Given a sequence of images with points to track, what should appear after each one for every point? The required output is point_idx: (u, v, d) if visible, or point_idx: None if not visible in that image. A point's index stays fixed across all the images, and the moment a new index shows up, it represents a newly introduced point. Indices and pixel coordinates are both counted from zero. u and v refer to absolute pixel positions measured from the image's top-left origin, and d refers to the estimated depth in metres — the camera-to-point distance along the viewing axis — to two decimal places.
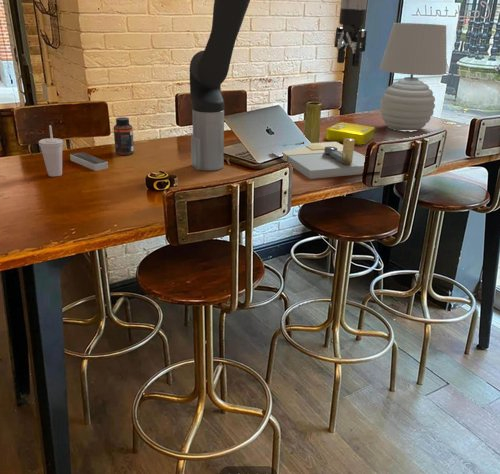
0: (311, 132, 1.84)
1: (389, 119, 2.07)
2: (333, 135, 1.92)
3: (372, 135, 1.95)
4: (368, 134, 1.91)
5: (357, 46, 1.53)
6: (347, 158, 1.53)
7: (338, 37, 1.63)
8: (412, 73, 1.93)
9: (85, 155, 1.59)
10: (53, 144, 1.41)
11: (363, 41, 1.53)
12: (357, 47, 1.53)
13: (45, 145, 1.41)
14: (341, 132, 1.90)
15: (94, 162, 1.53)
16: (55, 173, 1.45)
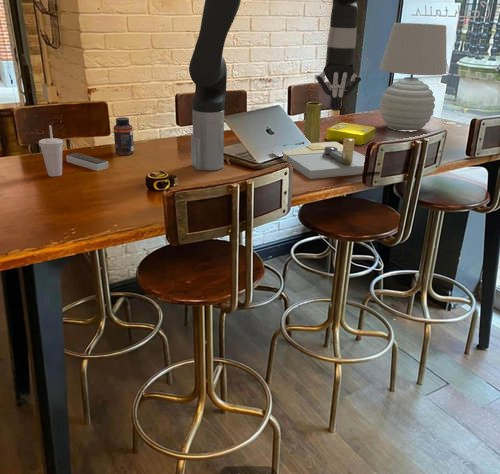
0: (311, 132, 1.84)
1: (389, 119, 2.07)
2: (334, 135, 1.92)
3: (372, 135, 1.95)
4: (368, 134, 1.91)
5: (349, 90, 1.45)
6: (347, 158, 1.53)
7: None
8: (412, 73, 1.93)
9: (82, 156, 1.58)
10: (53, 144, 1.41)
11: None
12: (347, 90, 1.45)
13: (45, 145, 1.41)
14: (341, 132, 1.90)
15: (95, 162, 1.53)
16: (55, 173, 1.45)
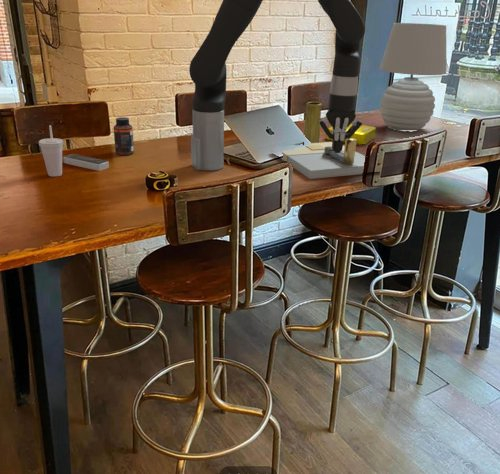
0: (312, 132, 1.84)
1: (389, 119, 2.07)
2: None
3: (373, 135, 1.95)
4: (369, 134, 1.91)
5: (350, 134, 1.50)
6: (349, 158, 1.54)
7: (327, 128, 1.49)
8: (412, 73, 1.93)
9: (80, 156, 1.57)
10: (53, 144, 1.41)
11: None
12: (348, 134, 1.50)
13: (45, 145, 1.41)
14: None
15: (95, 162, 1.53)
16: (55, 173, 1.45)
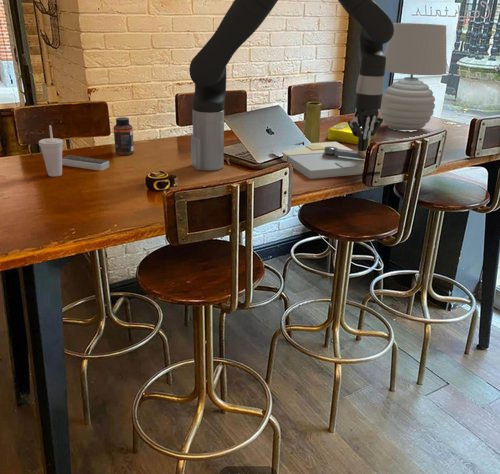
0: (312, 132, 1.84)
1: (389, 119, 2.07)
2: (335, 135, 1.92)
3: None
4: None
5: (374, 131, 1.55)
6: None
7: None
8: (412, 73, 1.93)
9: (77, 157, 1.57)
10: (53, 144, 1.41)
11: None
12: (373, 131, 1.54)
13: (45, 145, 1.41)
14: (343, 132, 1.90)
15: (96, 162, 1.53)
16: (55, 173, 1.45)
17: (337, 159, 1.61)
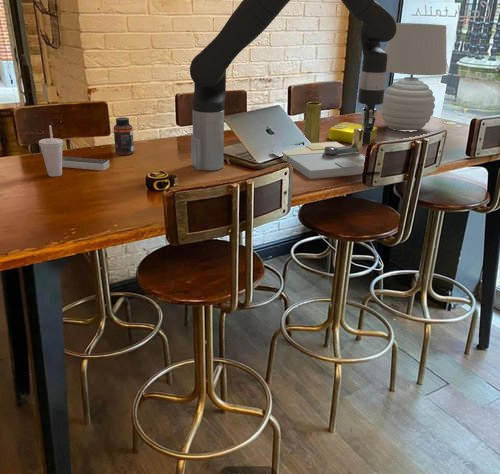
0: (311, 132, 1.84)
1: (389, 119, 2.07)
2: (336, 135, 1.92)
3: (374, 134, 1.96)
4: (371, 134, 1.92)
5: None
6: None
7: None
8: (412, 73, 1.93)
9: (75, 158, 1.55)
10: (53, 144, 1.41)
11: None
12: None
13: (45, 145, 1.41)
14: (344, 132, 1.91)
15: (97, 162, 1.53)
16: (55, 173, 1.45)
17: (337, 159, 1.61)
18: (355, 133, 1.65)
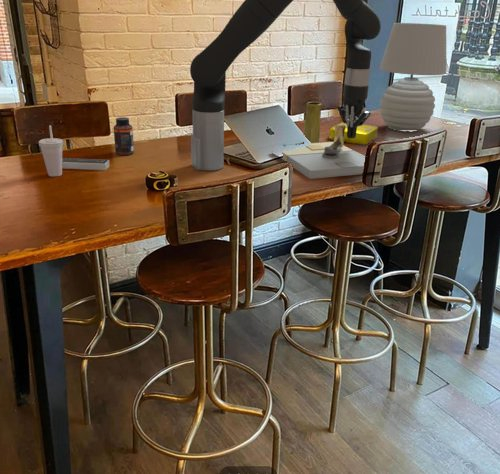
0: (311, 132, 1.84)
1: (389, 119, 2.07)
2: None
3: (375, 134, 1.96)
4: (372, 134, 1.92)
5: None
6: None
7: None
8: (412, 73, 1.93)
9: (74, 159, 1.55)
10: (53, 144, 1.41)
11: None
12: None
13: (45, 145, 1.41)
14: (345, 132, 1.91)
15: (98, 162, 1.53)
16: (55, 173, 1.45)
17: (337, 159, 1.61)
18: (340, 129, 1.69)
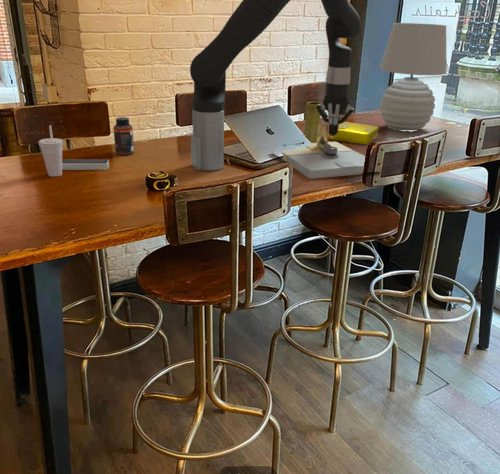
0: (311, 132, 1.84)
1: (389, 119, 2.07)
2: (338, 135, 1.93)
3: (376, 134, 1.96)
4: (372, 133, 1.92)
5: None
6: None
7: None
8: (412, 73, 1.93)
9: (73, 160, 1.54)
10: (53, 144, 1.41)
11: None
12: None
13: (45, 145, 1.41)
14: (346, 132, 1.91)
15: (99, 162, 1.53)
16: (55, 173, 1.45)
17: (337, 159, 1.61)
18: (325, 128, 1.69)
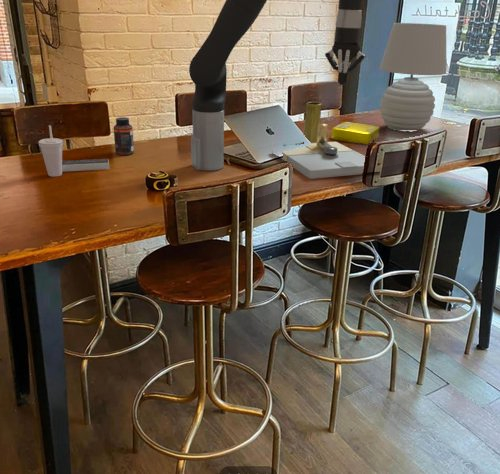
0: (311, 132, 1.84)
1: (389, 119, 2.07)
2: (339, 134, 1.93)
3: (377, 134, 1.97)
4: (373, 133, 1.93)
5: None
6: None
7: None
8: (412, 73, 1.93)
9: (72, 161, 1.53)
10: (53, 144, 1.41)
11: None
12: None
13: (45, 145, 1.41)
14: (347, 131, 1.91)
15: (100, 162, 1.53)
16: (54, 173, 1.45)
17: (337, 159, 1.61)
18: (325, 128, 1.69)
